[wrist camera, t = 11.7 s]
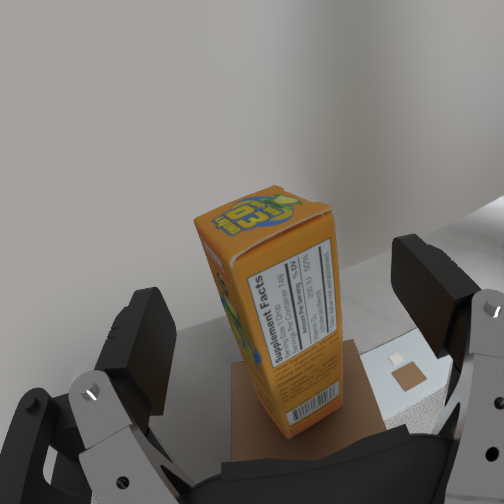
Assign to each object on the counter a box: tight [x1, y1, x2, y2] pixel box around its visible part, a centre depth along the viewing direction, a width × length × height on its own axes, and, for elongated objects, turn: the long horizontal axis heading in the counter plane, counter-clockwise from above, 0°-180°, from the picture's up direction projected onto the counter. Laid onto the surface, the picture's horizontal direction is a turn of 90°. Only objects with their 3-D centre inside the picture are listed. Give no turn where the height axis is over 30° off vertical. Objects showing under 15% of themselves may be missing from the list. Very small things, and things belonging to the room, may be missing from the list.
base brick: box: [231, 339, 387, 462], centre depth 15 cm, size 7×7×6 cm
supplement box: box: [194, 185, 343, 439], centre depth 11 cm, size 3×3×10 cm
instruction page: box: [360, 328, 452, 421], centre depth 19 cm, size 8×6×1 cm
